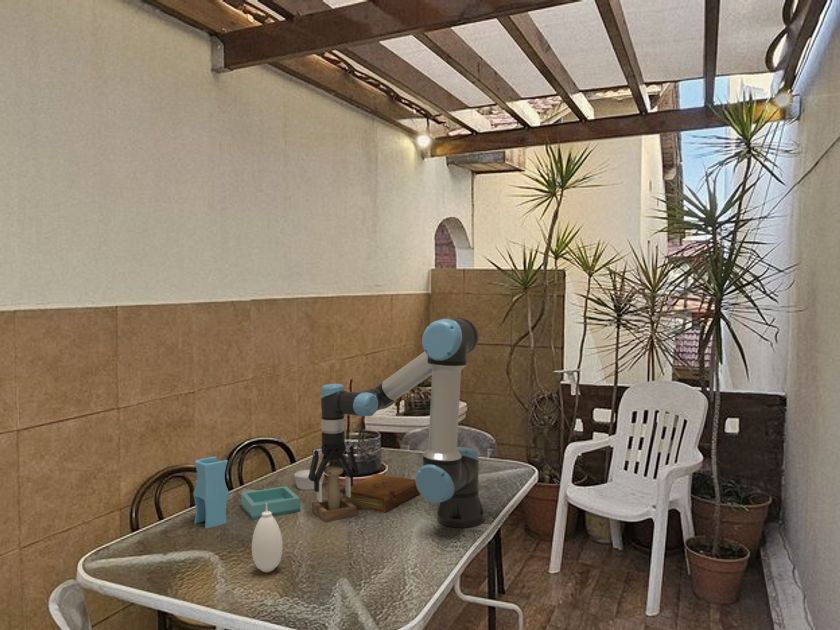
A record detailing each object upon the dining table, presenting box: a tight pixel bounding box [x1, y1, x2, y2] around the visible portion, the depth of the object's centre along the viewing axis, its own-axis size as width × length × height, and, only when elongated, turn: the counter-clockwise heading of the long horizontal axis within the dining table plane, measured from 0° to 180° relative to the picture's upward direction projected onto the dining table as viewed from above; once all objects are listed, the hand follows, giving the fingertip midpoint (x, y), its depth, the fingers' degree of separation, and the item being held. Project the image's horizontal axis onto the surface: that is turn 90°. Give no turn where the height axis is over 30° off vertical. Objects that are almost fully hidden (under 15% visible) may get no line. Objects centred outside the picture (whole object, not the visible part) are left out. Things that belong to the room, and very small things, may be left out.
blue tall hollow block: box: [192, 456, 230, 530], centre depth 199 cm, size 8×8×20 cm
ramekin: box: [293, 469, 325, 491], centre depth 238 cm, size 11×11×5 cm
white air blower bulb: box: [251, 502, 284, 573], centre depth 163 cm, size 8×8×18 cm
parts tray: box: [240, 485, 301, 521], centre depth 212 cm, size 16×16×4 cm
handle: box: [324, 466, 344, 510], centre depth 206 cm, size 5×6×15 cm
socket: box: [311, 496, 358, 523], centre depth 206 cm, size 12×11×3 cm
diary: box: [340, 473, 421, 514], centre depth 221 cm, size 23×19×6 cm
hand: (334, 498), depth 206 cm, fingers open, 9 cm apart
